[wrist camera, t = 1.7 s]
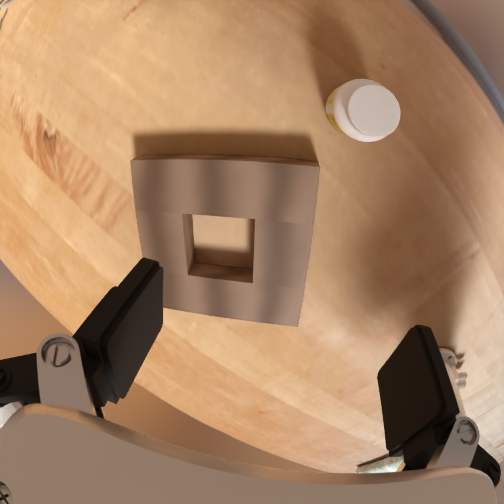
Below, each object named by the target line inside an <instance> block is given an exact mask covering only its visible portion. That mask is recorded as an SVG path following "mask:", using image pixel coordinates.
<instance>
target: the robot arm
mask: <svg viewBox="0 0 504 504" xmlns="http://www.w3.org/2000/svg"><path fill="white" fill-rule="evenodd" d="M163 272H164V270H163V267H161V266H160V264H159V262H158V261H155V260H152V259H148V258H145V257H144V258H142V259H141V260H140V261H139V262H138V263H137V265H136V266H135V267H134V268H133V269H132V270H131V271H130V273H129V274H128V275H127V276H126V277H125V278H124V280H123V281H122V282H121V283H120V284H119V286H118V287H116V286H115V287H113V288H111V289H110V290H109V292H108V293H107V294H106V295H105V296H104V298H103V299H102V300H101V301H100V302H99V304H98V305H97V306H96V307H95V309H94V310H93V311H92V312H91V313H90V315H89V316H88V317H87V318H86V320H85V321H84V322H83V324H82V325H81V326H80V327H79V329H78V330H77V331H76V333H75V334H74V335H73V336H72V337H70V336H69V335H66V334H53V335H50V336H48V337H46V338H45V339H43V341H42V342H41V343H40V344H39V346H38V348H37V353H32V354H28V355H23V356H18V357H13V358H8V359H3V360H0V504H504V482H503V481H502V479H501V480H500V475H501V471H500V466H499V464H498V462H497V461H496V460H495V459H494V458H493V457H492V456H491V455H490V454H488V453H487V452H486V451H485V450H484V449H483V448H482V447H481V446H480V445H479V444H478V442H479V430H478V427H477V425H476V423H475V422H474V421H473V420H472V419H470V418H469V417H466V413H465V409H464V406H463V403H462V399H461V396H460V393H459V390H458V389H463V388H464V387H465V386H466V380H465V379H466V378H467V373H466V372H463V373H457V371H456V365H457V359H456V356H455V354H454V353H453V352H452V351H451V350H449V349H446V348H439V347H438V345H437V342H436V340H435V337H434V335H433V332H432V330H431V328H430V327H428V326H422V325H416V326H414V327H413V328H411V329H410V330H409V331H408V333H407V334H406V336H405V337H404V338H403V340H402V341H401V343H400V344H399V345H398V347H397V348H396V349H395V351H394V352H393V353H392V355H391V356H390V357H389V359H388V360H387V361H386V363H385V364H384V365H383V366H382V368H381V369H380V370H379V372H378V376H377V379H378V386H379V392H380V399H381V406H382V414H383V422H384V430H385V440H386V448H387V450H388V451H389V456H390V457H401V456H402V455H403V457H404V460H403V461H402V463H401V464H400V466H399V467H398V469H397V470H396V472H385V473H322V472H307V471H296V470H288V469H279V468H272V467H265V466H259V465H254V464H248V463H243V462H238V461H232V460H228V459H224V458H219V457H215V456H211V455H207V454H203V453H200V452H196V451H192V450H189V449H186V448H182V447H179V446H176V445H173V444H170V443H167V442H164V441H160V440H158V439H154V438H152V437H149V436H146V435H143V434H141V433H138V432H136V431H133V430H130V429H128V428H125V427H123V426H120V425H118V424H115V423H112V422H110V421H108V420H106V418H105V414H104V411H103V408H102V407H104V406H105V404H106V403H107V401H110V402H113V403H115V404H117V402H118V400H119V398H122V399H123V398H124V397H125V396H126V394H127V392H128V391H129V388H130V387H131V385H132V383H133V381H134V379H135V377H136V375H137V373H138V371H139V369H140V367H141V365H142V364H143V362H144V360H145V358H146V356H147V354H148V352H149V350H150V348H151V347H152V345H153V343H154V341H155V339H156V337H157V335H158V334H159V332H160V330H161V328H162V324H163Z"/></svg>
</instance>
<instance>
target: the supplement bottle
mask: <svg viewBox="0 0 504 504" xmlns="http://www.w3.org/2000/svg"><path fill="white" fill-rule="evenodd" d="M326 115H327V118H328V120H329V122H330V123H331V124H332V126H333V127H334V128H335V129H337V130H338V131H340V132H341V133H343V134H345V135H347V136H349V137H351V138H353V139H355V140H358V141H362V142H374V141H378V140H381V139H383V138H384V137H386V136H387V135H389V134H390V133H392V132H393V131H394V130H395V129H396V127H397V126H398V124H399V121H400V115H401V112H400V106H399V103H398V101H397V99H396V97H395V96H394V95H393V94H392V93H391V92H390V91H389V90H388V89H386V88H385V87H384V86H382V85H381V84H379V83H378V82H375V81H373V80H370V79H354V80H351V81H348V82H346V83H345V84H343V85H341V86H339V87H337V88H336V89H334V90H333V91H332V92H331V93H330V95H329V96H328V98H327V101H326Z"/></svg>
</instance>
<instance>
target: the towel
mask: <svg viewBox="0 0 504 504" xmlns="http://www.w3.org/2000/svg"><path fill="white" fill-rule="evenodd" d="M403 460H404V457H403V455H402V456H401V457H387V458H384V459H381V460H378V461H375V462H372V463H369V464H366V465H363V466H360V467H358V468H357V470H356V472H357V473H385V472H396V470H397V469H398V467H399V466H400V464H401V463H402V461H403Z"/></svg>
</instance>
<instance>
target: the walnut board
mask: <svg viewBox="0 0 504 504" xmlns="http://www.w3.org/2000/svg"><path fill="white" fill-rule="evenodd" d="M130 162H131V174H132V184H133V193H134V202H135V210H136V217H137V224H138V231H139V238H140V244H141V250H142V256H143V258H144V257H145V258H148V259H152V260H155V261H158V262H159V264H160V266H161V267H163V270H164V272H163V308H169V309H174V310H180V311H186V312H192V313H198V314H204V315H210V316H217V317H224V318H231V319H238V320H245V321H253V322H261V323H269V324H278V325H287V326H297V327H298V324H299V318H300V313H301V307H302V301H303V295H304V289H305V282H306V276H307V269H308V262H309V255H310V248H311V241H312V233H313V225H314V217H315V209H316V200H317V191H318V182H319V172H320V166H319V163H318V161H309V160H299V159H287V158H274V157H259V156H240V155H206V154H171V155H143V156H140V157H138V158H135V159H133V160H130ZM192 214H196V215H210V216H223V217H235V218H247V219H255V236H254V265H253V269H245V268H236V267H228V266H219V265H210V264H202V263H196V262H195V250H194V236H193V221H192Z"/></svg>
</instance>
